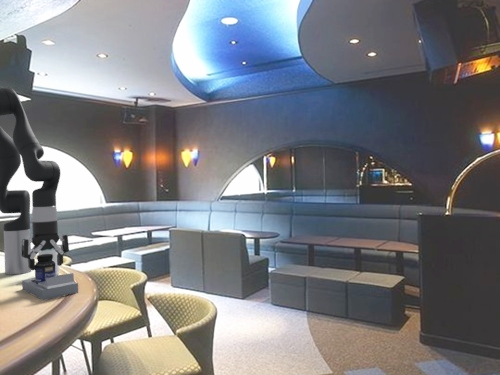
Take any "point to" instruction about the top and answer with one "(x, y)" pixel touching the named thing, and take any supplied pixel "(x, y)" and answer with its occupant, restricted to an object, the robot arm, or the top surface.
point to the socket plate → (48, 293)
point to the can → (52, 251)
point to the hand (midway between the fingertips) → (46, 267)
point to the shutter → (57, 281)
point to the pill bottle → (44, 267)
